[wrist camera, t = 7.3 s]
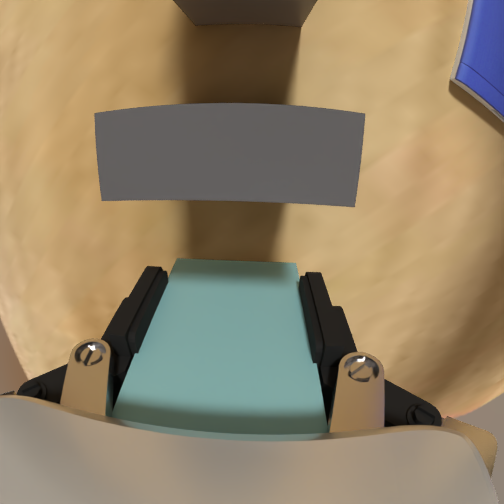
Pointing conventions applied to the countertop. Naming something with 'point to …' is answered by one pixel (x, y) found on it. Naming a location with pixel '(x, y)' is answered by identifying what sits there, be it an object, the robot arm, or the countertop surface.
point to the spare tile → (226, 354)
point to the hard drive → (482, 54)
